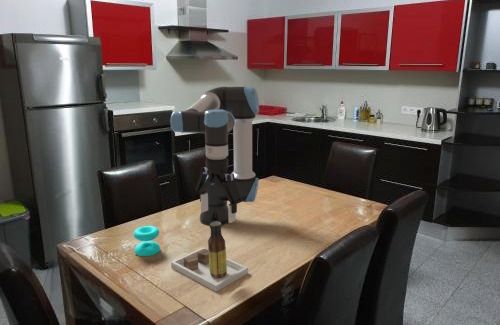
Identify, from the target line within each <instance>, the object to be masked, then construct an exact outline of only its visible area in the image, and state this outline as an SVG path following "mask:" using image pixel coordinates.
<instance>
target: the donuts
mask: <svg viewBox="0 0 500 325" xmlns="http://www.w3.org/2000/svg"><path fill="white" fill-rule="evenodd" d="M159 235H160V230H159V228H158V227H156V226H154V225H144V226H143V225H142V226H140V227H137V228H136V229H135V230H134V231H133V238H134V239H136V240H137V241H140V243H138V244H136V246H135V248H134V254H135V255H137V256H138V257H150V256H155V255H157V254H158V253H159V252H160V251H161V246H160V244H159V243H158V242H157V241H154V240H155V239H156V238H158V236H159Z"/></svg>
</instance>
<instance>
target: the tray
mask: <svg viewBox="0 0 500 325" xmlns="http://www.w3.org/2000/svg"><path fill="white" fill-rule="evenodd" d="M202 249H207V250H208V248H205V247H203V246H202V247H201V248H199V249H196V250H194V251H192V252H190V253H188V254H185V255H183V256H181V257H179V258H176V259H175V260H173V261H171V262H170V267H171V268H172V269H173V270H176V271H177V272H179V273H180V274H182V275H184V276H186V277H188V278H189V279H192V280H193V281H195V282H198V283H199V284H201V285H203V286H204V287H206V288H208V289H210V290H212V291H214V292H215V293H217V292H219V291H220V290H222V289H223V288H225V287H227V286H229V285H230V284H232V283H233V282H235V281H237V280H239V279H240V278H242V277H244V276H246V275H247V274H248V273H249V268H248V266H245V265H244V264H240V263H239V262H236V261H234V260H232V259H230V258H228V257H226V261H227V274H226V275H225V276H224V277H222V278H214V277H212V276H211V274H210V268H209V263H208V264H207V265H205V264H202V263H199V262H198V269H197V270H194V271H191V270H189V269H187V268H186V267H184V257H188V256H191V255H194V256H195V257H196V258H197V259H198V254H197V253H198V252H199V251H201V250H202Z"/></svg>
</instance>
